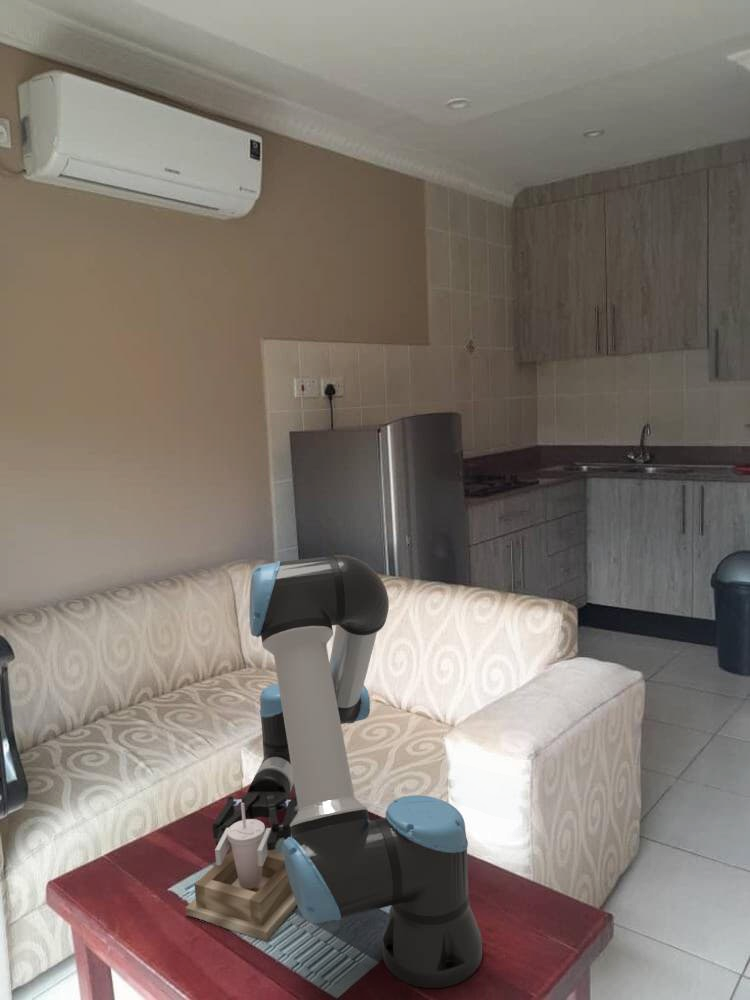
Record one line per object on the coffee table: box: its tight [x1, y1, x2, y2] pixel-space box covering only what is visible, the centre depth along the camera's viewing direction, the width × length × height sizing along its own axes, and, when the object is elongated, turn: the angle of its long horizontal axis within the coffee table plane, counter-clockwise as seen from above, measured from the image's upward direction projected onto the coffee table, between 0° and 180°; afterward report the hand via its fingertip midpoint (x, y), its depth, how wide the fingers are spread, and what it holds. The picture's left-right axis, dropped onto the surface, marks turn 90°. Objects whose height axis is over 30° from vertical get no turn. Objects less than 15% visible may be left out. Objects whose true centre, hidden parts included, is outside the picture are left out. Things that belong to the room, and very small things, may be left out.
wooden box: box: [185, 849, 298, 942], centre depth 132 cm, size 16×15×6 cm
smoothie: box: [227, 803, 266, 889], centre depth 131 cm, size 6×6×14 cm
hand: (239, 857), depth 126 cm, fingers closed on smoothie, 6 cm apart
